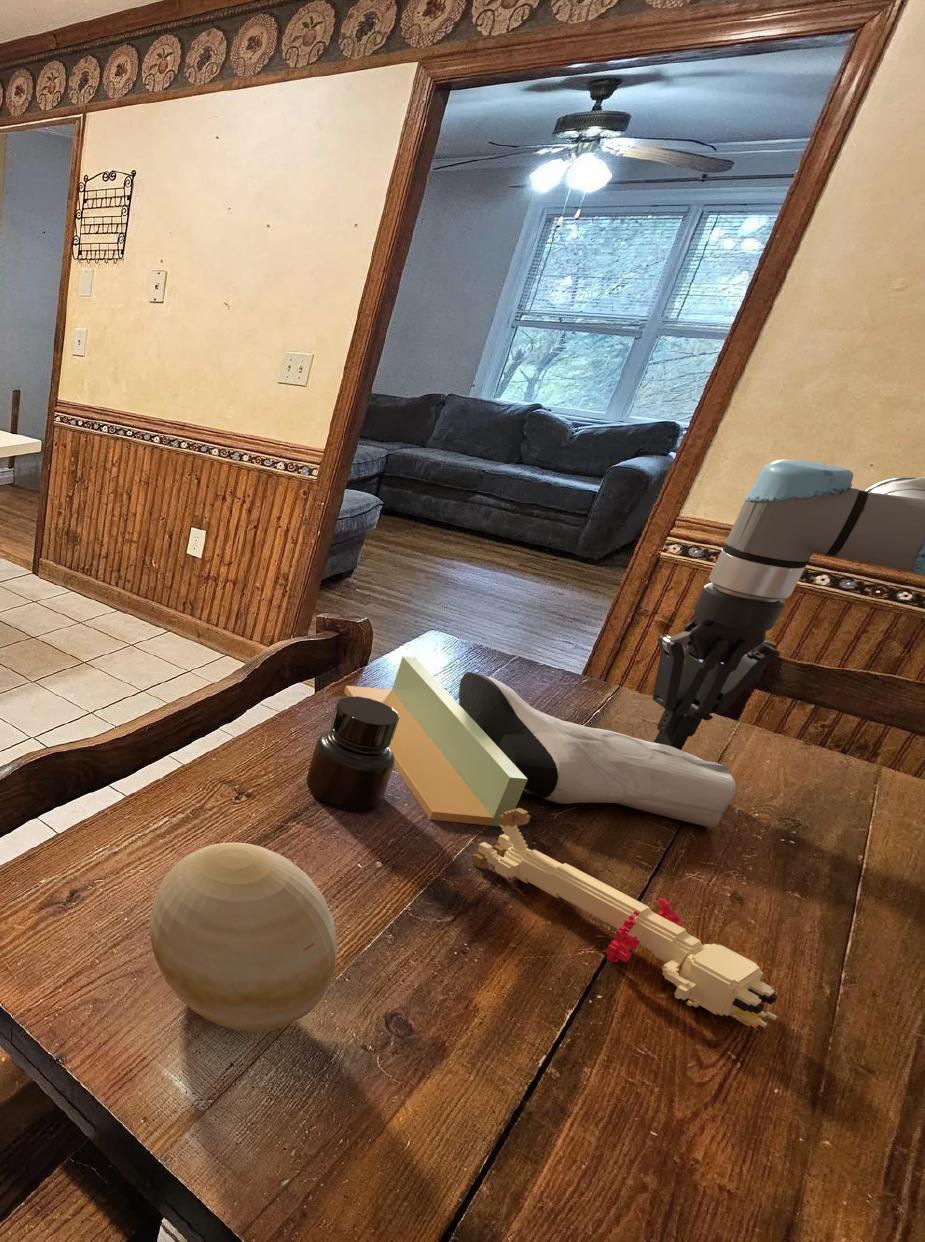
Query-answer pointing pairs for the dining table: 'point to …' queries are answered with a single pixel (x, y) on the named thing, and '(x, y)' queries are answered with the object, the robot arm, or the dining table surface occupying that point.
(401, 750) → the wall shelf
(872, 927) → the dining table surface
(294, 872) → the decorative ball
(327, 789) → the ink bottle
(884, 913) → the dining table surface
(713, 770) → the grey boot
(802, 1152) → the dining table surface
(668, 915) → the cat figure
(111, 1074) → the dining table surface
